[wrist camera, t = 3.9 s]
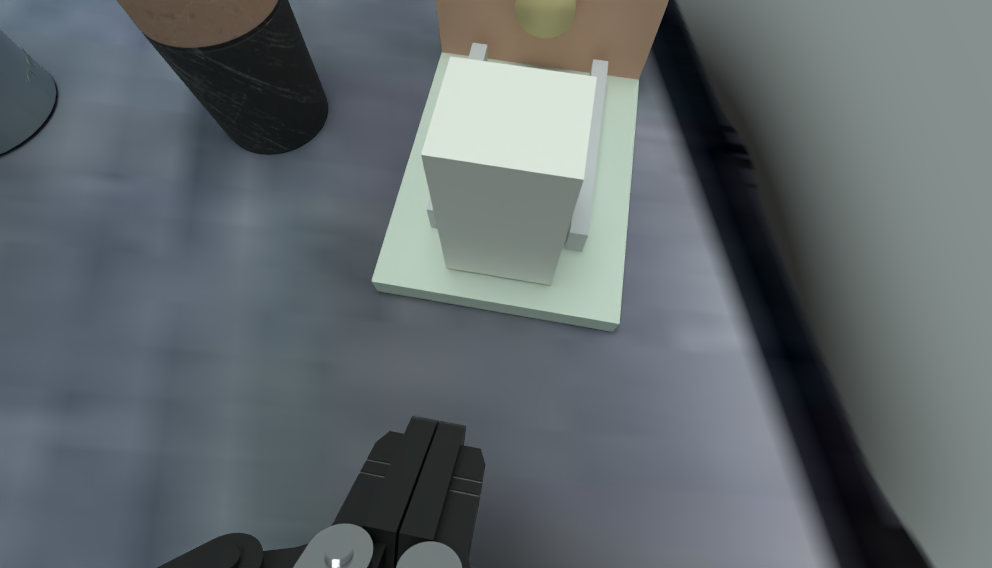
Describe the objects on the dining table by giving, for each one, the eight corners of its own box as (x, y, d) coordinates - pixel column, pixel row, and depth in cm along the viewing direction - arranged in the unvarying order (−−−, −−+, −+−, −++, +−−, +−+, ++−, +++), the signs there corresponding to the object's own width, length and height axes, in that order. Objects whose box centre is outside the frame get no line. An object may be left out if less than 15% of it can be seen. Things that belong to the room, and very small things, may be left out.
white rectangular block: (550, 285, 26) (583, 179, 17) (445, 267, 26) (420, 154, 17) (561, 209, 28) (596, 76, 18) (463, 194, 28) (450, 56, 19)
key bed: (612, 331, 27) (693, 236, 16) (377, 291, 27) (304, 174, 17) (636, 56, 35) (699, -128, 24) (455, 31, 36) (439, -157, 25)
